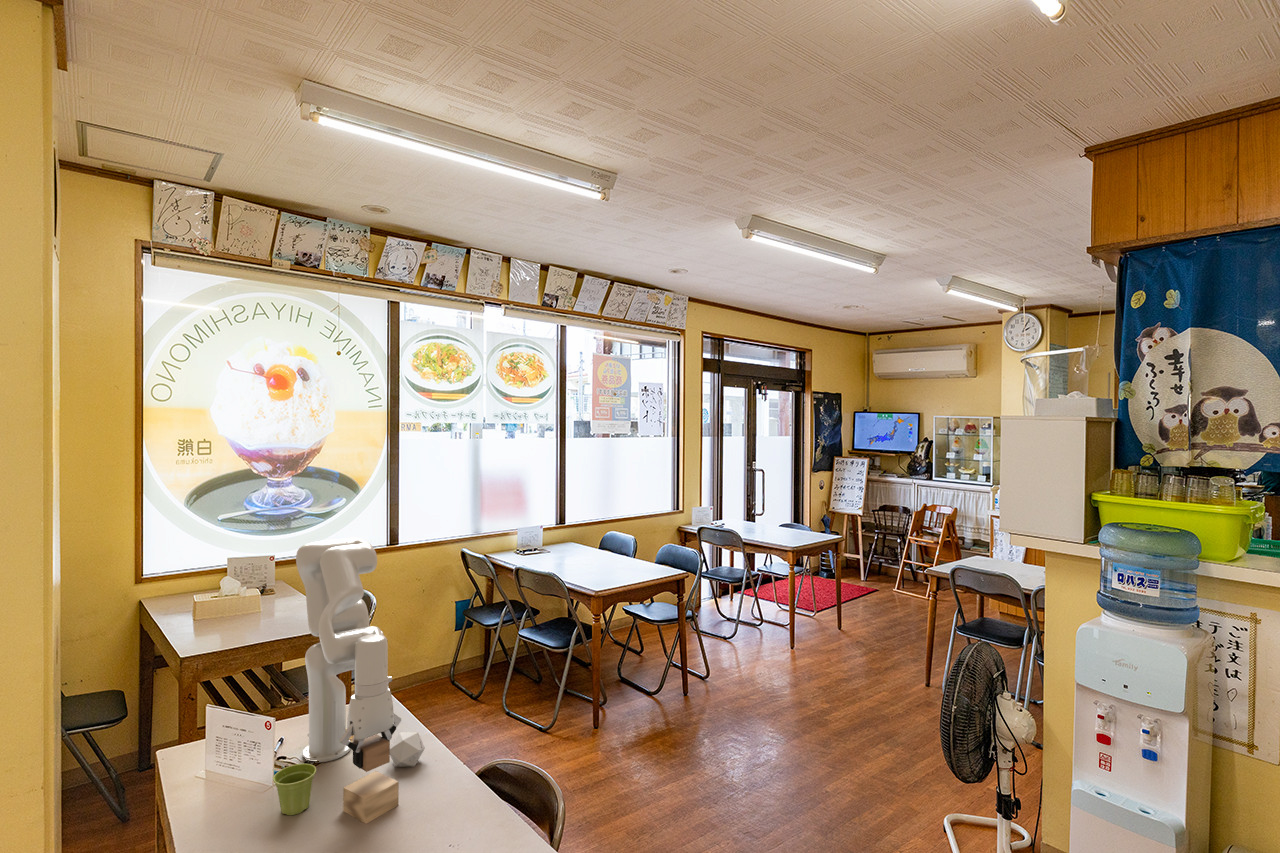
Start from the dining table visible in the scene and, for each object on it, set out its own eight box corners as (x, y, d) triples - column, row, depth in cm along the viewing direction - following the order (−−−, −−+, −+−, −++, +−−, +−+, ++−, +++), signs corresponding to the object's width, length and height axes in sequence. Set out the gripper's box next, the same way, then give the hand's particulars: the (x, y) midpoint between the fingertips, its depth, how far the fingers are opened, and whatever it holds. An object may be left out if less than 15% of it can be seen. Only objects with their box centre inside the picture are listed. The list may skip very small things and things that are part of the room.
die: (403, 778, 176) (426, 743, 179) (376, 758, 178) (400, 724, 181) (412, 773, 184) (435, 740, 187) (387, 754, 186) (410, 721, 189)
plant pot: (272, 824, 155) (272, 787, 155) (273, 803, 163) (273, 768, 163) (316, 813, 159) (316, 778, 159) (315, 793, 168) (315, 759, 168)
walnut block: (353, 763, 161) (353, 743, 161) (376, 754, 166) (376, 734, 166) (366, 772, 157) (366, 751, 157) (389, 762, 162) (389, 741, 162)
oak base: (343, 811, 160) (343, 787, 160) (375, 794, 168) (375, 770, 168) (366, 824, 156) (366, 799, 156) (398, 805, 163) (398, 781, 163)
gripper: (395, 673, 170) (395, 742, 170) (328, 694, 157) (329, 770, 157) (411, 680, 166) (411, 751, 166) (344, 703, 152) (344, 780, 152)
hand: (371, 760), depth 161 cm, fingers closed on walnut block, 6 cm apart
